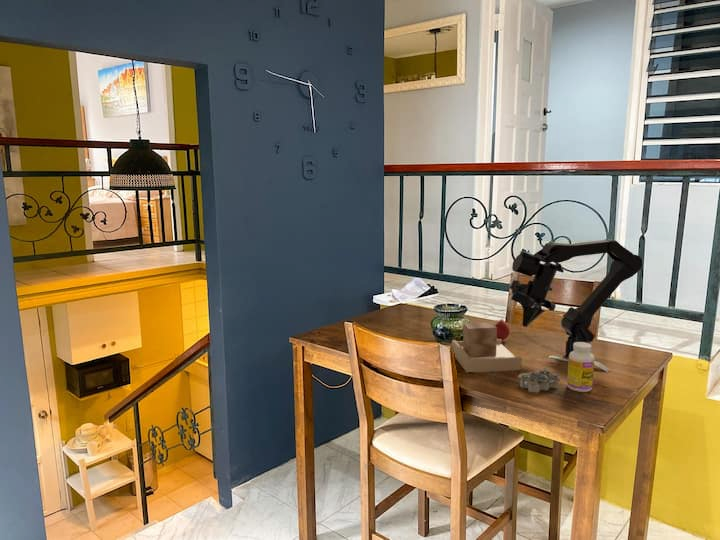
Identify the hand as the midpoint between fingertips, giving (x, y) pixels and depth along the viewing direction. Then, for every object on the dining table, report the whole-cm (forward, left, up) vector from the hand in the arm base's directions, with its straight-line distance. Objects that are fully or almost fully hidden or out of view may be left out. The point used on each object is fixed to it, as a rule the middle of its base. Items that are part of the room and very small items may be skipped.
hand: (524, 326), depth 175 cm
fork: (-15, -6, -12) cm, 20 cm away
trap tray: (+9, +9, -11) cm, 17 cm away
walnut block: (+10, +10, -9) cm, 17 cm away
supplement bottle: (-22, +13, -11) cm, 28 cm away
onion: (+14, -13, -11) cm, 22 cm away
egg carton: (-12, +18, -12) cm, 25 cm away
